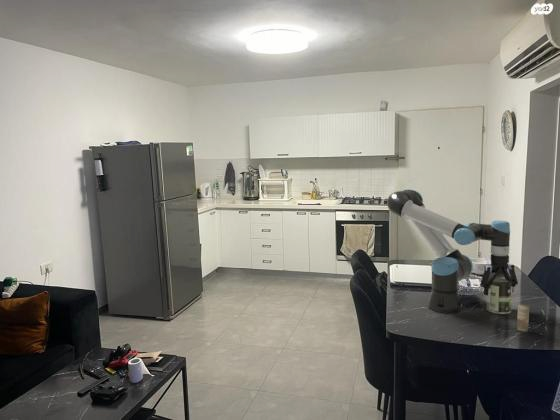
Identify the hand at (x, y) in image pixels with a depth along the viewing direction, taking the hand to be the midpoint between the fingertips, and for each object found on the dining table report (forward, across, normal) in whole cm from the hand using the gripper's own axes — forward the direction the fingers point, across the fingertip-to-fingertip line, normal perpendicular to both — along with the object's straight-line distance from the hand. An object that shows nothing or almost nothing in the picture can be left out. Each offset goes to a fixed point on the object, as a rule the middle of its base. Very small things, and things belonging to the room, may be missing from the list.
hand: (498, 300), depth 192 cm
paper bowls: (+5, +31, +55) cm, 63 cm away
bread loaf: (+4, -6, -22) cm, 23 cm away
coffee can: (+5, 0, 0) cm, 5 cm away
